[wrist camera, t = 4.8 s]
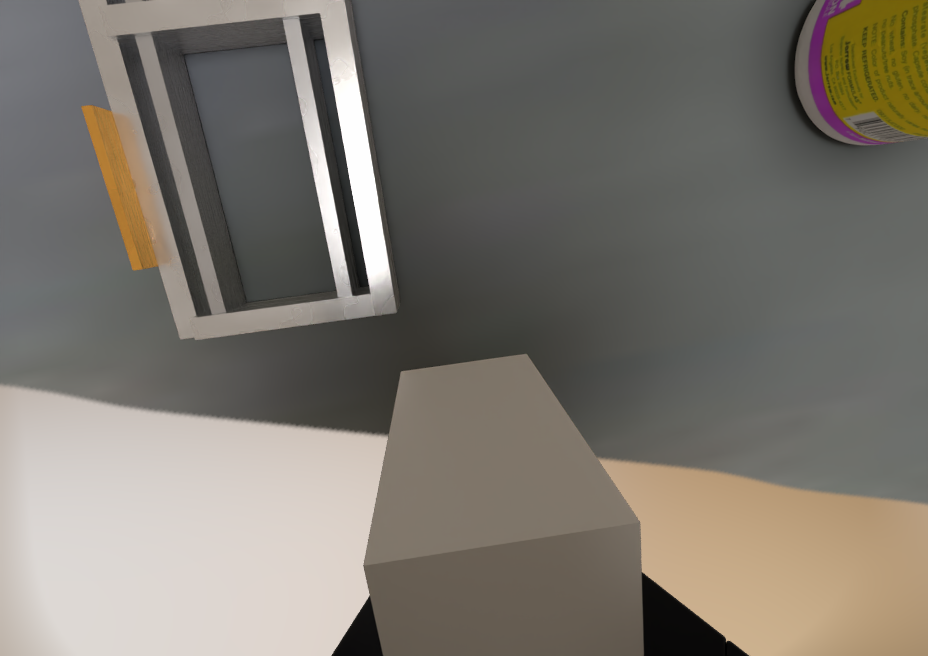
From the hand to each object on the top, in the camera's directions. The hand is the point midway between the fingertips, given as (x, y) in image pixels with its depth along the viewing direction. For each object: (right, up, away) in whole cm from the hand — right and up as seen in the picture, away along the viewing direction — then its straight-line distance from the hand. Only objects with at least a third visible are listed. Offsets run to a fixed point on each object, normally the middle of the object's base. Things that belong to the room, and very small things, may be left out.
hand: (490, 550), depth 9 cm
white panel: (0, 0, +1) cm, 1 cm away
